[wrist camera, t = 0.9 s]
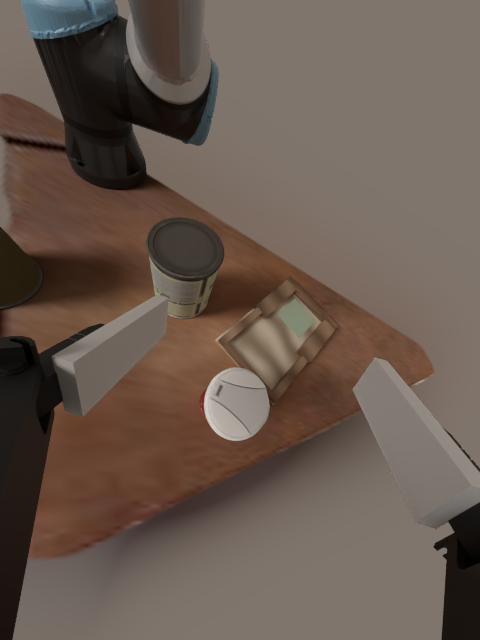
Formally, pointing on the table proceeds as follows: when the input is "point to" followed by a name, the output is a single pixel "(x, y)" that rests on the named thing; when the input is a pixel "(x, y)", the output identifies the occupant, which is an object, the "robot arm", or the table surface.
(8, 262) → the canister
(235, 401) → the paper cup
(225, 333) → the keyhole slot
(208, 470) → the table surface
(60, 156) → the table surface
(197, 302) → the coffee can
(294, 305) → the seat pad
